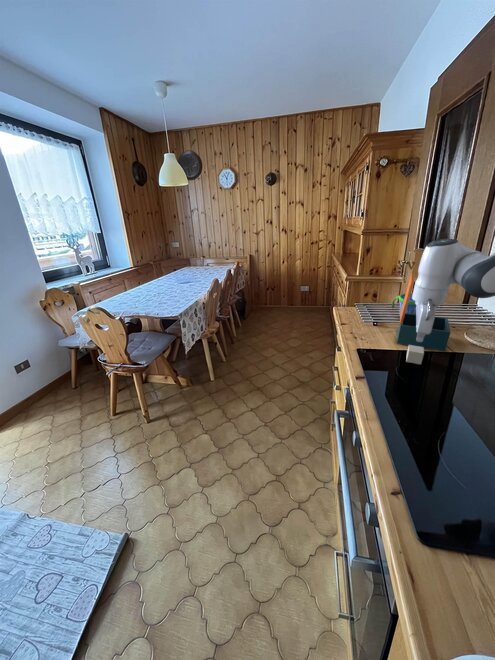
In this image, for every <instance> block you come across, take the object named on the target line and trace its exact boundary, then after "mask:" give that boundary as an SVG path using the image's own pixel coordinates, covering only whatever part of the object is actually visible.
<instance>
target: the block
mask: <svg viewBox="0 0 495 660" xmlns="http://www.w3.org/2000/svg"><path fill="white" fill-rule="evenodd" d="M424 356H425V348H424V347H419V346H413V345H408V348H407V351H406V360H405V362H406V363H411V364H416V365H422V363H423V359H424Z"/></svg>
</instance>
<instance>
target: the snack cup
mask: <svg viewBox="0 0 495 660" xmlns="http://www.w3.org/2000/svg"><path fill="white" fill-rule="evenodd" d="M405 294H406V293H402V294H400V295H397V296H396V297H394V298H393V300H392V302H391V309H394V308H395V301H396V300H397V299H398V301H399V317H400V316H401V309H402V305H403V302H404V298H405ZM412 295H413V292H411V295H410V298H409V302H408V305H407V309H406V312H405V313H409V314H416V304H415V302H416V301H414V300H413V299H412Z"/></svg>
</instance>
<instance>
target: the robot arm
mask: <svg viewBox="0 0 495 660" xmlns="http://www.w3.org/2000/svg"><path fill="white" fill-rule="evenodd" d="M417 272H418V273H417V274H418V275H417V279H416V280H415V281H414V285H413V289H412V293H413V295H412V299H413V300H414V301H416V302H415V304H416V332H417V333H418V334H417V337H416V341H417V342H423V339H424V336H425V335H429V334H430V333H431V331H432V327H433V323H434V318H435V317H436V313H437V312H436V309H437V308H439V306H440V305H443V304H445V303H446V299H447V297H448V294H449V290H450V286H451V285H452V284H458V285H459V286H460V287H462V289H464V290H465V292H466V293H468V294H469V296H472V297H474V298H478V299H489V298H492V297H495V252H493V253H492V254H490V255H488V254H486V253H484V252H481V251H479V250H476V249H472V248H470V247H468V246H467V245H464V244H463V243H461V242H460V241H459V240H458V239H455V238H440V239H436V240H433V241H431V242H428V243H427V244H426V246H425V248H424V250H423V252H422V255H421V258H420V261H419V264H418V269H417Z"/></svg>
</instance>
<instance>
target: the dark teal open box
mask: <svg viewBox="0 0 495 660" xmlns="http://www.w3.org/2000/svg"><path fill="white" fill-rule="evenodd" d="M451 333H452V332H451V326H450V322H449V318H448V317H442V316H435V318H434V323H433V327H432V331H431V333H430V334H429V335H425V336H424V339H423V342H417V341H416V337H417V334H418V333H417V332H416V314H409V313H405V316H404V319H403V323H402V324H400V323H399V324H398V329H397V339H396V340H397V341H396V344H397V345H404V346H409V345H413V346H419V347H424V349H429V350H433V351H434V350H435V351H441V352H446V350H447V346H448V343H449V340H450V336H451Z"/></svg>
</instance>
